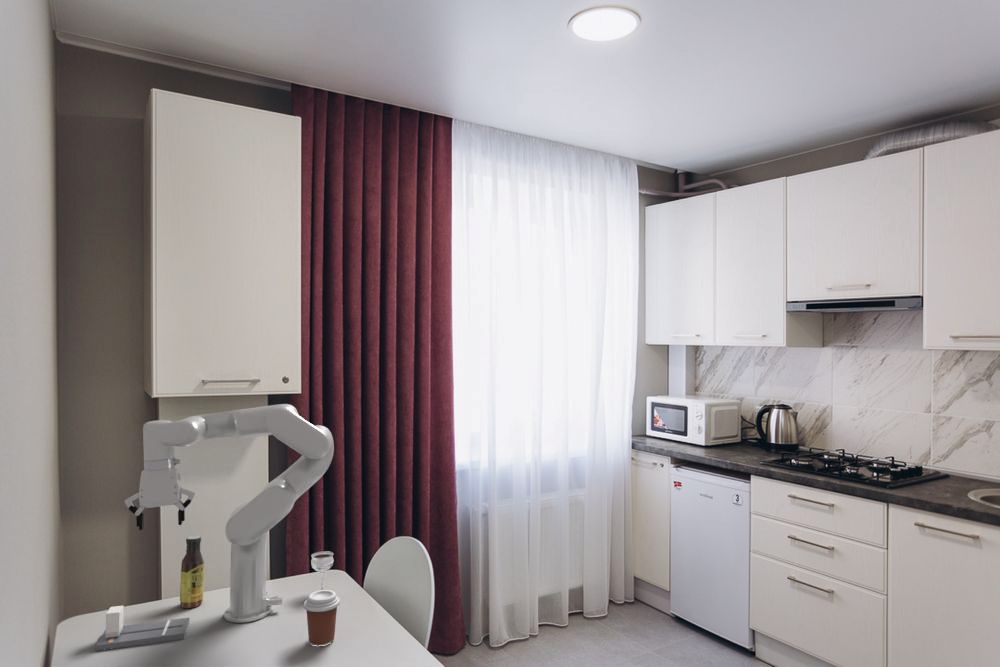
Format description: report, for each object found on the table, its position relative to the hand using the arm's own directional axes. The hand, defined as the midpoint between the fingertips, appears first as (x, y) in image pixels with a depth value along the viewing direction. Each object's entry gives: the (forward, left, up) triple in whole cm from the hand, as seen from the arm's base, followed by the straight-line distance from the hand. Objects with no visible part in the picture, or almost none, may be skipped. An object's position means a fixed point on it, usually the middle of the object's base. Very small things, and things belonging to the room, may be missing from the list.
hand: (161, 526), depth 173 cm
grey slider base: (+2, +8, -27) cm, 28 cm away
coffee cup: (-42, +26, -27) cm, 56 cm away
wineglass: (-44, -6, -27) cm, 52 cm away
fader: (+9, +8, -25) cm, 27 cm away
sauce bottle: (-7, -10, -27) cm, 29 cm away
